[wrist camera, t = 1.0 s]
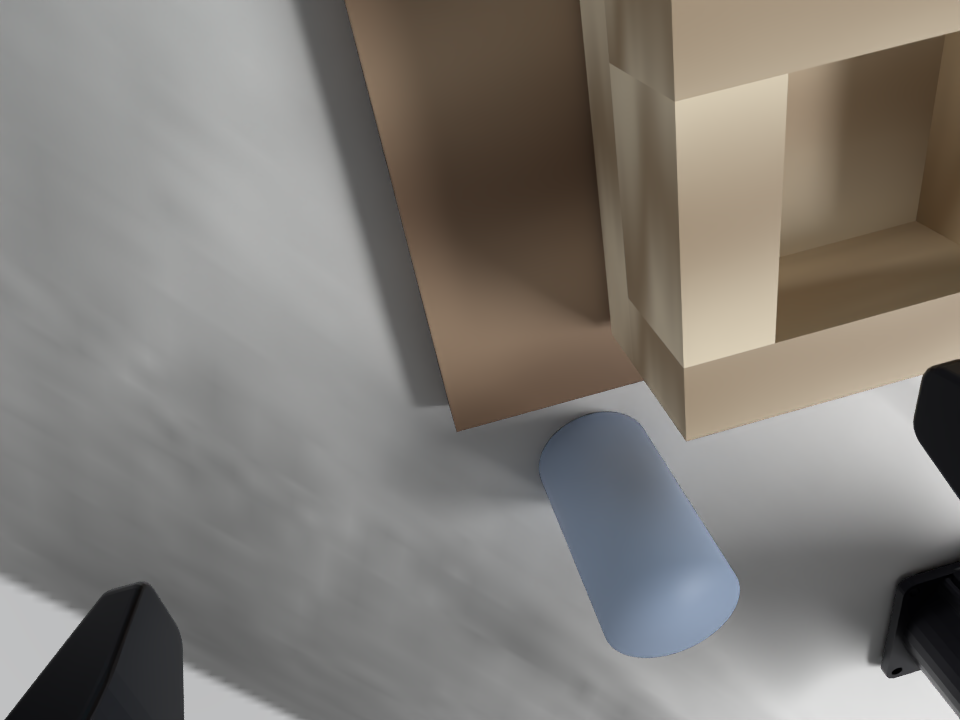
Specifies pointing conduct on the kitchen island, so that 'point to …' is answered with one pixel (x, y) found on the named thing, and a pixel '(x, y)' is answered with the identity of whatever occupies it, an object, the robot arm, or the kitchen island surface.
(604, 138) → the open box
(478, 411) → the board
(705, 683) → the kitchen island surface
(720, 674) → the kitchen island surface
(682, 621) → the light blue cylinder
